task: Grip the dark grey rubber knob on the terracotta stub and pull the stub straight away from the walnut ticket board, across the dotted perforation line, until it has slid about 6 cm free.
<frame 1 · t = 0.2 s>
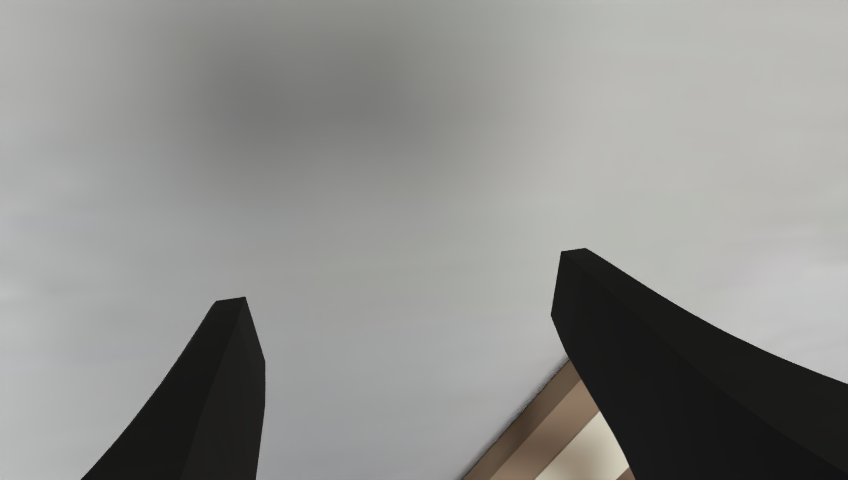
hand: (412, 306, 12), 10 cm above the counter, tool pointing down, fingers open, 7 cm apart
ticket board: (577, 460, 31), on the counter
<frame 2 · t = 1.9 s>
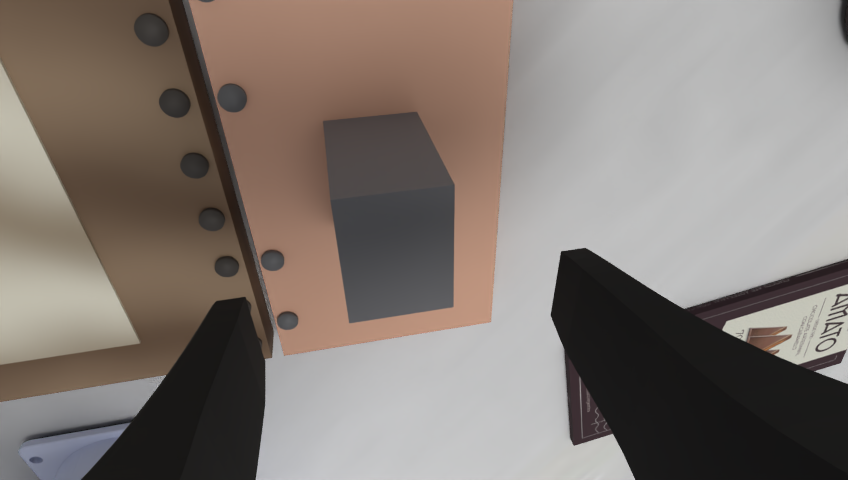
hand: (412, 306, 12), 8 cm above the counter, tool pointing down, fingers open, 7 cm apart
chocolate bar: (705, 344, 30), on the counter
ticket board: (42, 189, 17), on the counter
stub: (382, 197, 16), point 3 cm above the counter, slide at 0.0 cm
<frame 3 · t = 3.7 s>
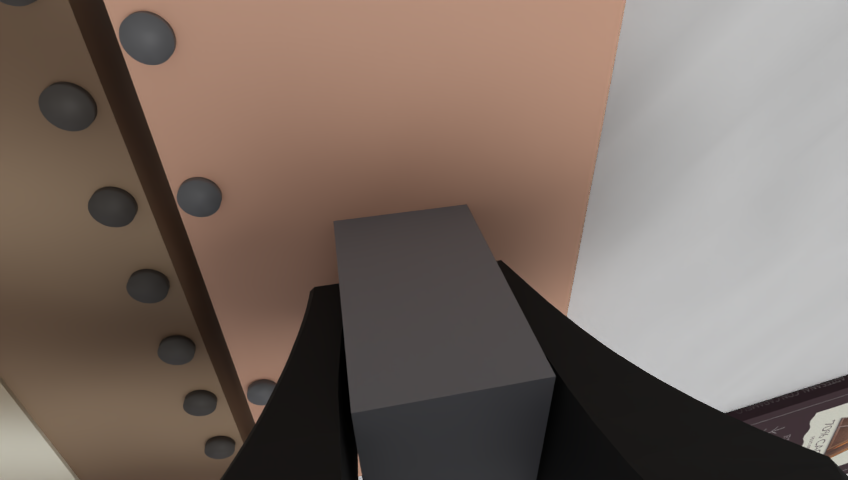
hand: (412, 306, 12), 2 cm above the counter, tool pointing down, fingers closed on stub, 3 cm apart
chocolate bar: (782, 430, 25), on the counter
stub: (418, 332, 11), point 3 cm above the counter, slide at 0.0 cm, touching gripper
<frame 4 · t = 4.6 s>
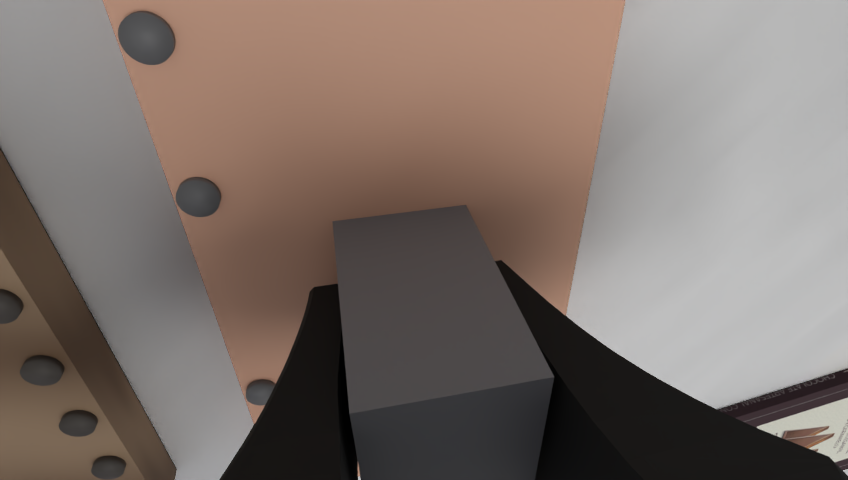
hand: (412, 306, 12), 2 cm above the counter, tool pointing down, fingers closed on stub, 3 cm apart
chocolate bar: (728, 441, 25), on the counter
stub: (417, 332, 11), point 3 cm above the counter, slide at 2.9 cm, touching gripper
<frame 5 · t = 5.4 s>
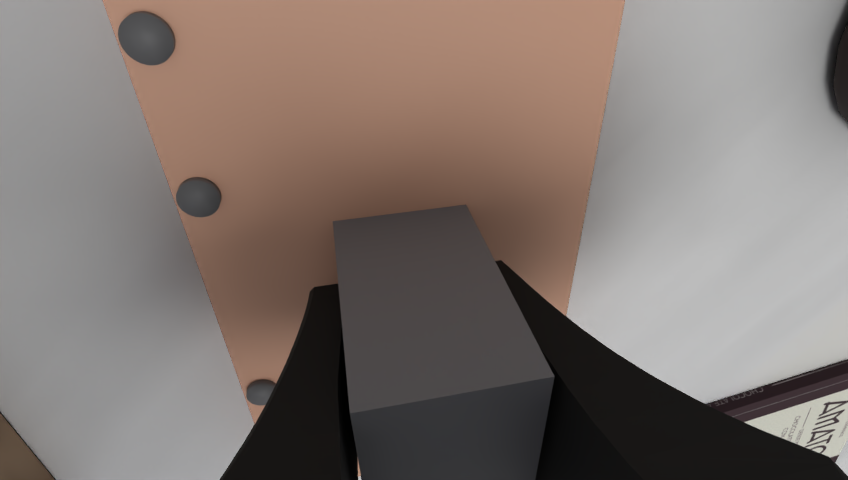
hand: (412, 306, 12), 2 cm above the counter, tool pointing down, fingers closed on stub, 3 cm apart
chocolate bar: (664, 455, 25), on the counter
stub: (417, 332, 11), point 3 cm above the counter, slide at 6.4 cm, touching gripper
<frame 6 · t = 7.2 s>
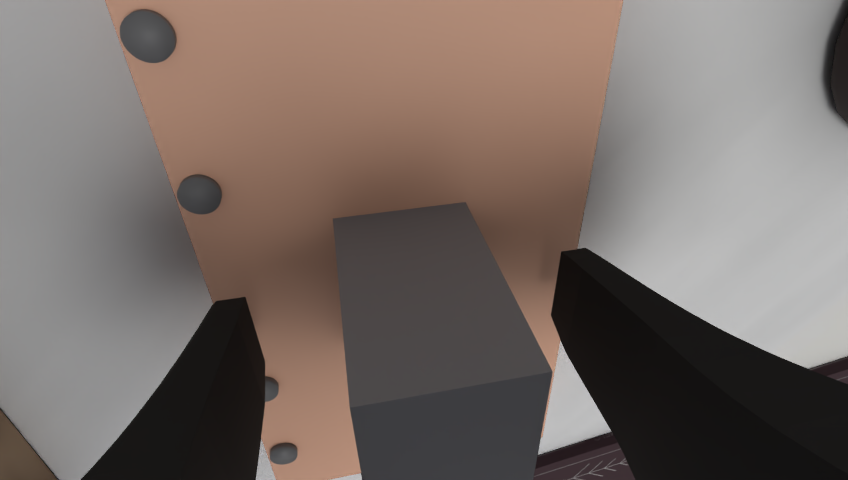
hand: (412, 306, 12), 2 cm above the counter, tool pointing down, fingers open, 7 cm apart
chocolate bar: (662, 453, 25), on the counter
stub: (417, 329, 11), point 3 cm above the counter, slide at 6.5 cm
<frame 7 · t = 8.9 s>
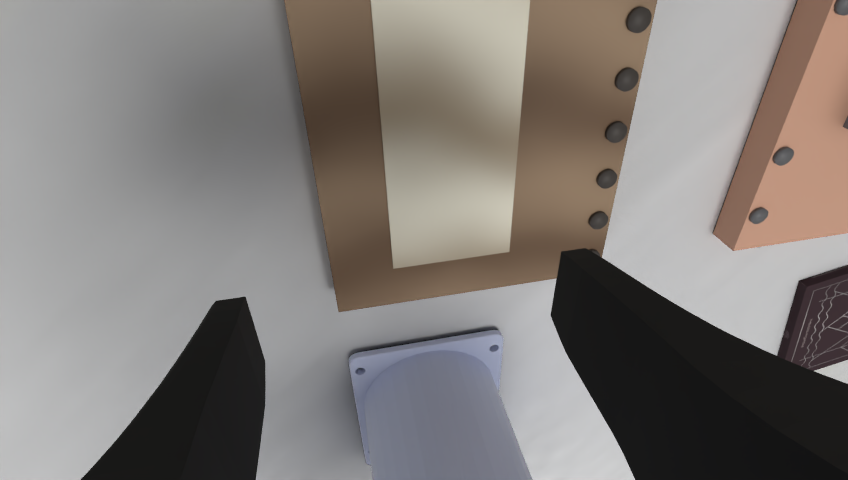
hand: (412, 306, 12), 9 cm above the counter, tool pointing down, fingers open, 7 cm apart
ticket board: (468, 106, 19), on the counter
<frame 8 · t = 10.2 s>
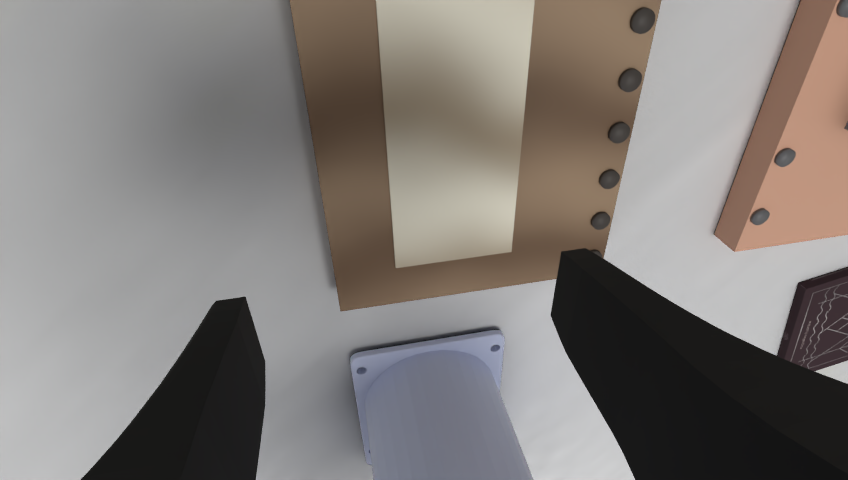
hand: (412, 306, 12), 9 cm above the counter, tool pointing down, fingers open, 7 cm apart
ticket board: (471, 105, 19), on the counter
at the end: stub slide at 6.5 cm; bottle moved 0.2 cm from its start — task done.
